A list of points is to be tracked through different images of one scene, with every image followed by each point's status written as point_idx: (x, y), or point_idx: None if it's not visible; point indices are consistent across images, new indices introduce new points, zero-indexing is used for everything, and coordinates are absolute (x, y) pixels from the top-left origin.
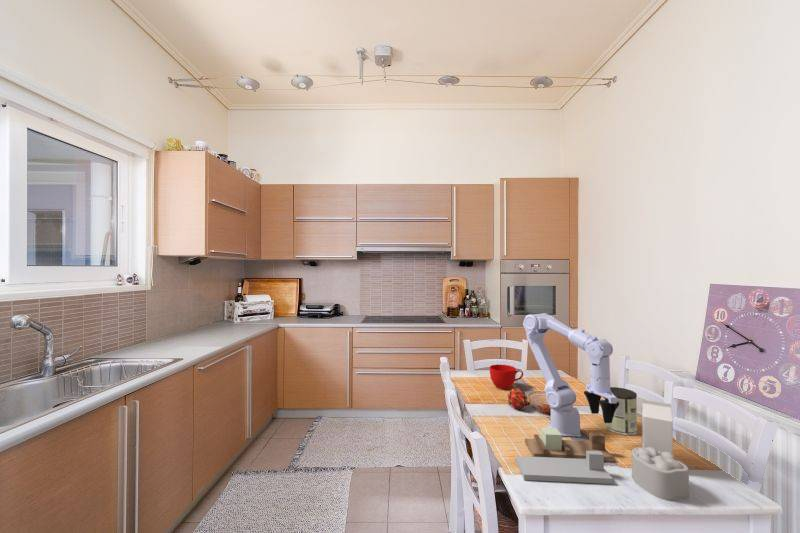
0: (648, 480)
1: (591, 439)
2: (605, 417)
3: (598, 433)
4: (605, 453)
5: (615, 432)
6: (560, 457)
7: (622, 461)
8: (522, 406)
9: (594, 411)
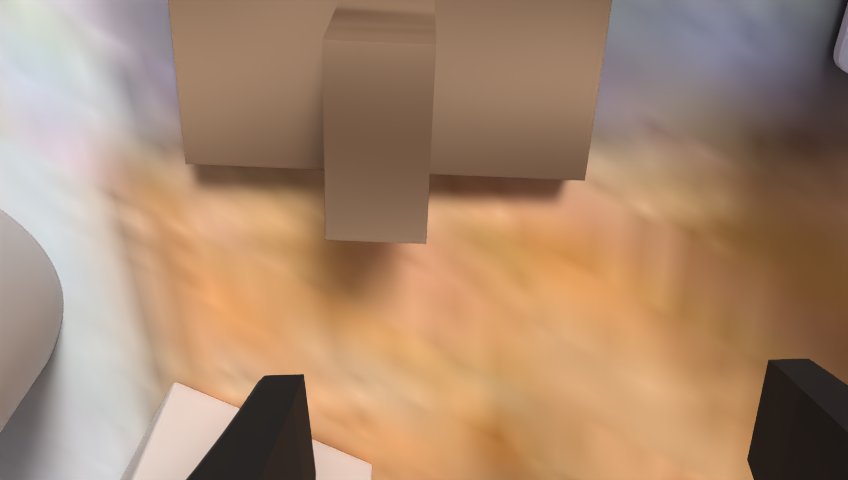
0: None
1: (350, 20)
2: (214, 459)
3: (412, 188)
4: (257, 113)
5: None
6: None
7: (234, 239)
8: None
9: (780, 431)
